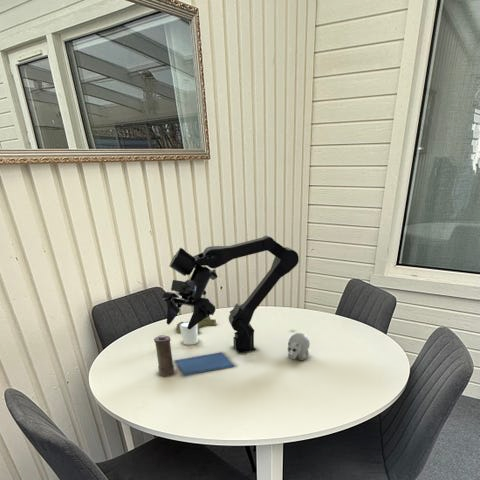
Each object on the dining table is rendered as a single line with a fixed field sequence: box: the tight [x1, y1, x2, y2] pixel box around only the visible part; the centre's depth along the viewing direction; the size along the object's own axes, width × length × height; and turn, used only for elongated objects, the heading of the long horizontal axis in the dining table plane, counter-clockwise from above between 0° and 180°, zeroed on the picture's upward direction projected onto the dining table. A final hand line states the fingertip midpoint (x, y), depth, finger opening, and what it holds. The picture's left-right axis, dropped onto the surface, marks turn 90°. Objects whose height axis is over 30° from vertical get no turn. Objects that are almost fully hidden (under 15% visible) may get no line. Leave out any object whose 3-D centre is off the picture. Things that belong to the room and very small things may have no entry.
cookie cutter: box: [176, 316, 217, 335], centre depth 172 cm, size 18×12×2 cm, turn 149°
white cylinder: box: [179, 321, 199, 346], centre depth 156 cm, size 7×7×7 cm
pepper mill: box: [153, 334, 175, 377], centre depth 131 cm, size 5×5×12 cm
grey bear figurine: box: [287, 332, 311, 361], centre depth 138 cm, size 7×12×8 cm, turn 152°
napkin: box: [174, 352, 235, 377], centre depth 140 cm, size 17×13×1 cm
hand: (177, 326), depth 132 cm, fingers open, 9 cm apart
